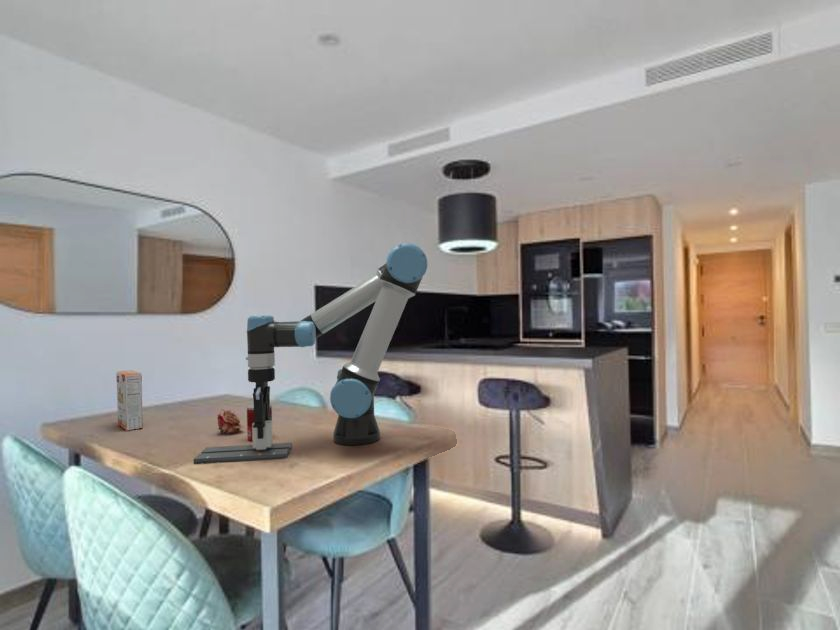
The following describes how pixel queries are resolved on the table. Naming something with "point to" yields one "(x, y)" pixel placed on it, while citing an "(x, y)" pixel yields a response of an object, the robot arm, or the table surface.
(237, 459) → the fader panel
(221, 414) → the flower
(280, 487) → the table surface
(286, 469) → the table surface
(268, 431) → the fader
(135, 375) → the cracker box
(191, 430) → the table surface
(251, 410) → the canned food
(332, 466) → the table surface
